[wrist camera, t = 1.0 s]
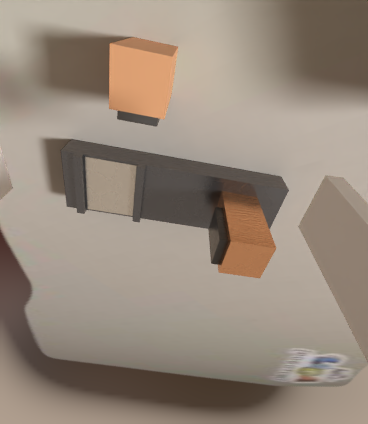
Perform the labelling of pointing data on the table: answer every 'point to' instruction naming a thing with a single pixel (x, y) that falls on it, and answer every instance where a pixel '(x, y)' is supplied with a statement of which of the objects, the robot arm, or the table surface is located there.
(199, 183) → the rail
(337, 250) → the robot arm
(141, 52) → the tall peach prism
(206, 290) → the table surface
